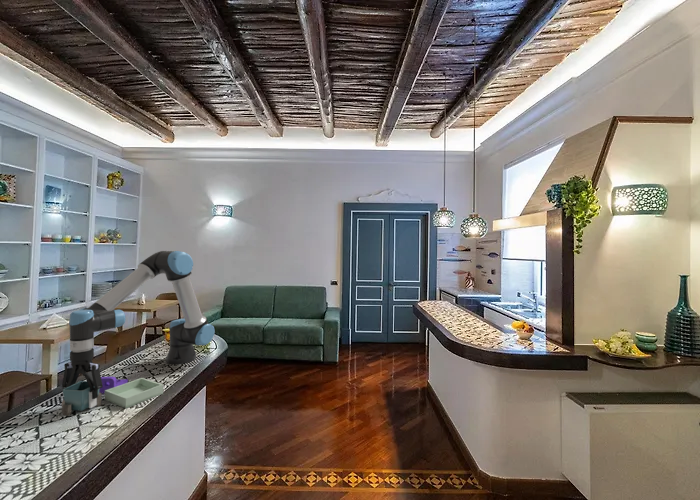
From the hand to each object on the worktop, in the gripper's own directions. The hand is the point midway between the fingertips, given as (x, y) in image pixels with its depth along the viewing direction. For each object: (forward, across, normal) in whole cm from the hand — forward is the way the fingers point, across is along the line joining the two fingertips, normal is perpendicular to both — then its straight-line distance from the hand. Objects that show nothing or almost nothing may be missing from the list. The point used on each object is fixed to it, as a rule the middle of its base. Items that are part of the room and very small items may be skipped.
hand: (82, 405), depth 136 cm
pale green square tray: (+1, +13, +12) cm, 18 cm away
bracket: (+2, -4, +19) cm, 20 cm away
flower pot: (+1, 0, 0) cm, 1 cm away
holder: (+1, 0, 0) cm, 1 cm away
